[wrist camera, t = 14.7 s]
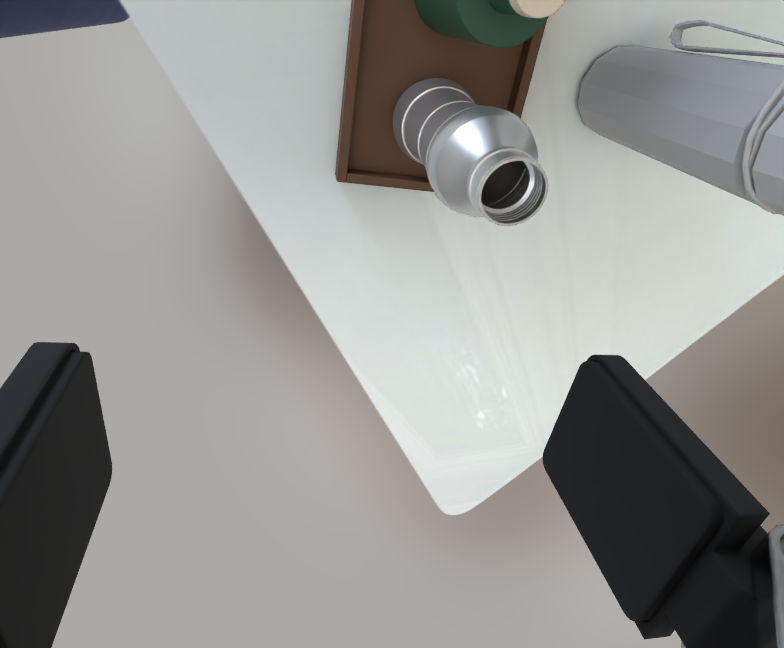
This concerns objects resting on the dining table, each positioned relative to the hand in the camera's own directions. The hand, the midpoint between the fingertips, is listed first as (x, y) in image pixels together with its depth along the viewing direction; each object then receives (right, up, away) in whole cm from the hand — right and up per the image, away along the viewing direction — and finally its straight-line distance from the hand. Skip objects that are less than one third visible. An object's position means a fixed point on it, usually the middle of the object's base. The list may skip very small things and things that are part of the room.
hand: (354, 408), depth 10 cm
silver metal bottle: (+4, +19, +32) cm, 38 cm away
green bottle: (+5, +27, +28) cm, 39 cm away
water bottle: (+20, +23, +34) cm, 46 cm away
